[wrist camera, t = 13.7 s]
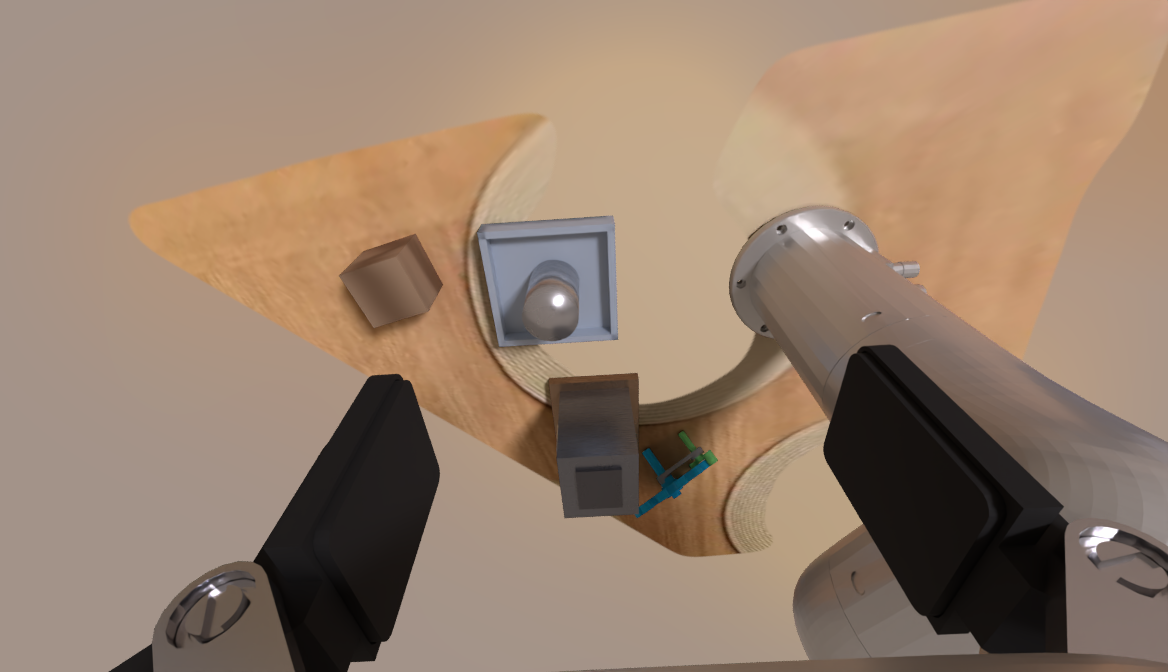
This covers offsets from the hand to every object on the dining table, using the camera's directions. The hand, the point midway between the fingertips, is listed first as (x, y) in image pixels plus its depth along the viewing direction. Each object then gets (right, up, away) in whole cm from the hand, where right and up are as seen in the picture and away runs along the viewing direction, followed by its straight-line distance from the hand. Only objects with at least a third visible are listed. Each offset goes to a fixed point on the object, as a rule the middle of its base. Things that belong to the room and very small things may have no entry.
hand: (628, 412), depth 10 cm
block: (-17, +8, +31) cm, 36 cm away
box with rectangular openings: (0, -7, +40) cm, 41 cm away
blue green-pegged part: (+9, -13, +44) cm, 47 cm away
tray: (-4, +7, +32) cm, 32 cm away
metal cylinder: (-4, +6, +31) cm, 32 cm away
